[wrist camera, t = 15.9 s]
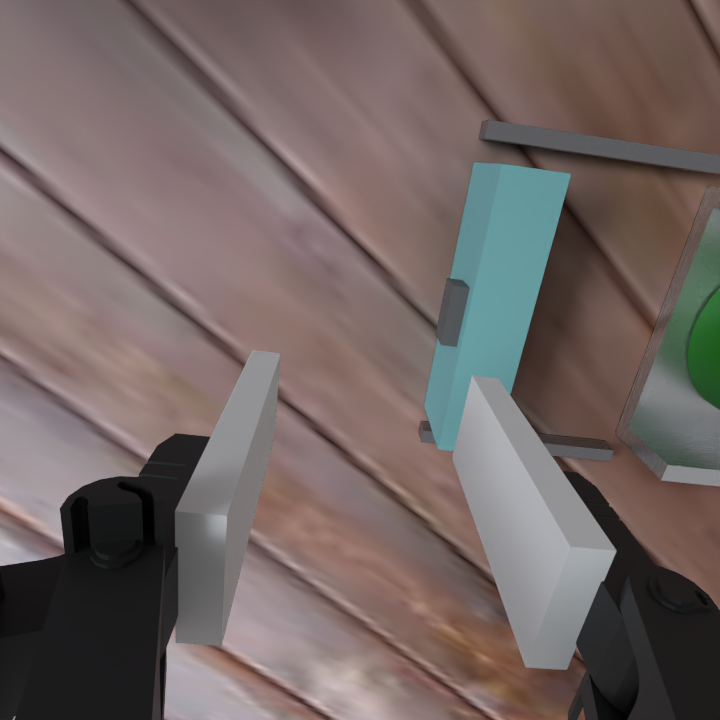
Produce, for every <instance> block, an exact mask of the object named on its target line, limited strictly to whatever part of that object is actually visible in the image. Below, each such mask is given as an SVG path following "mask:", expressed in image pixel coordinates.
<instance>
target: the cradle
mask: <svg viewBox="0 0 720 720" xmlns="http://www.w3.org/2000/svg"><path fill="white" fill-rule="evenodd" d="M719 288H720V187H709V186H708V187H707V190H706V192H705V195H704V198H703V200H702V203H701V206H700V208H699V211H698V214H697V216H696V219H695V222H694V224H693V227H692V230H691V232H690V235H689V238H688V240H687V243H686V246H685V248H684V251H683V254H682V256H681V259H680V262H679V264H678V267H677V270H676V272H675V275H674V278H673V280H672V283H671V286H670V288H669V291H668V294H667V296H666V299H665V302H664V304H663V307H662V310H661V312H660V315H659V318H658V320H657V323H656V326H655V328H654V331H653V334H652V336H651V339H650V342H649V344H648V347H647V350H646V352H645V355H644V358H643V360H642V363H641V366H640V368H639V371H638V374H637V376H636V379H635V382H634V384H633V387H632V390H631V392H630V395H629V398H628V400H627V403H626V406H625V408H624V411H623V414H622V416H621V419H620V421H619V424H618V427H617V429H616V432H615V434H616V435H617V436H618V437H619V438H620V439H621V440H622V441H623V442H624V443H625V444H626V445H627V446H628V447H629V448H630V449H631V450H632V451H633V452H634V453H635V454H636V455H637V456H638V457H639V458H640V459H641V460H642V461H643V462H644V463H645V464H646V465H647V467H648V468H649V469H650V470H651V471H652V472H653V473H654V474H655V475H656V476H657V477H658V478H659V479H660V480H662V481H672V482H681V483H691V484H701V485H711V486H720V410H719V409H717V408H716V407H714V406H713V405H711V404H710V403H709V402H707V401H706V400H705V399H704V398H703V397H702V396H701V395H700V394H699V392H698V391H697V390H696V388H695V386H694V384H693V382H692V380H691V377H690V373H689V368H688V348H689V342H690V338H691V335H692V332H693V329H694V326H695V324H696V322H697V319H698V318H699V316H700V314H701V312H702V310H703V309H704V307H705V306H706V304H707V303H708V301H709V300H710V299H711V297H712V296H713V295H714V294H715V293H716V291H717V290H718V289H719Z"/></svg>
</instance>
